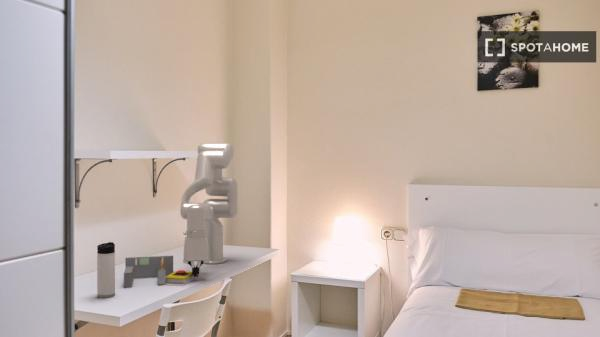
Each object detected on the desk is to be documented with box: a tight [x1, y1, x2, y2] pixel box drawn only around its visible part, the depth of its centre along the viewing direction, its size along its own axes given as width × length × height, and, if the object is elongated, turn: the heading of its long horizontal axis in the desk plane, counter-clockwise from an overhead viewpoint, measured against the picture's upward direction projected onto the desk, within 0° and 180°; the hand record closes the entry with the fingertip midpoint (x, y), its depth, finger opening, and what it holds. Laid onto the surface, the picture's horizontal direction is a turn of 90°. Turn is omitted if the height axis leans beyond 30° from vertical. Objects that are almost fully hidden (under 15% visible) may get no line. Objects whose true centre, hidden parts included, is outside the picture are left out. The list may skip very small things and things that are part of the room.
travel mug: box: [96, 241, 116, 299], centre depth 188 cm, size 6×7×20 cm
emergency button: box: [162, 269, 197, 287], centre depth 211 cm, size 9×4×15 cm
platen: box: [157, 260, 166, 285], centre depth 209 cm, size 11×3×8 cm, turn 15°
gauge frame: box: [123, 255, 174, 289], centre depth 209 cm, size 16×20×9 cm
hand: (195, 276), depth 212 cm, fingers closed
